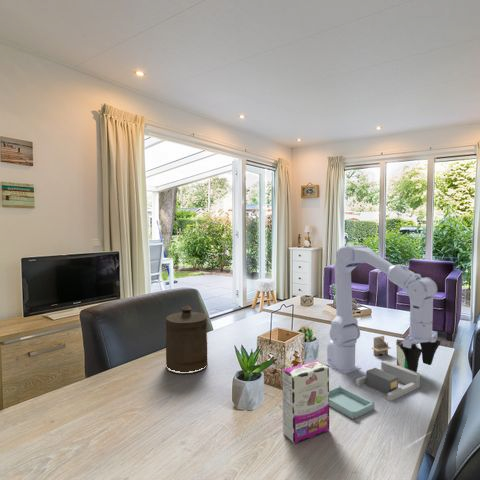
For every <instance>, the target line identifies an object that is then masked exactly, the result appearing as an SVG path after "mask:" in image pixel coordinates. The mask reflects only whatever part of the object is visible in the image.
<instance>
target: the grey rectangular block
mask: <svg viewBox="0 0 480 480" xmlns="http://www.w3.org/2000/svg"><path fill="white" fill-rule="evenodd" d="M365 372H366V373H365V375H366V385H367V386H369V387H372V388H374V389H376V390H378V391H380V392H382V393H385V394H387V393H389V392H391V391H394V390H396V389H398V388H399V381H398V377H397V376H395V375H392V374H390V373H387V372H385V371H382V370H381V369H379V368H377V367H373V368H371V369H368V370H365Z"/></svg>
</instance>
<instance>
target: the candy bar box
mask: <svg viewBox="0 0 480 480" xmlns="http://www.w3.org/2000/svg"><path fill="white" fill-rule="evenodd" d="M281 379H282V381H281V383H282V385H281V386H282V393H281V394H282V432H283V433H282V434H283V435H284V436H285V437H286V438H287V439H288V440H290V442H291V443H292V444H296V445H297V444H298V443H300V442H303V441H305V440H308V439H311V438H313V437H317V436H319V435H321V434H323V433H326V432H328V431H330V406H329V390H330V366H328V365H326V364H324V363H322V362H320V361H319V360H315V361H310V362H307V363H303V364H299V365H295V366H292V367H287V368H284V369H283V368H282V369H281Z"/></svg>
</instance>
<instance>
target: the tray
mask: <svg viewBox="0 0 480 480" xmlns="http://www.w3.org/2000/svg"><path fill="white" fill-rule="evenodd" d="M329 407H331V408H332V409H334V410H335V411H338V412H339V413H341V414H343V415H344V416H346V417H348V418H350V419H351V420H352V421H354V420H356V419H357V418H359V417H361V416H363V415H364V414H367V413H369V412H371V411H373V410H375V402H373V401H371V400H369V399H367V398H364V397H363V396H361V395H359V394H357V393H355V392H353V391H351V390H349V389H347V388H345V387H343V386H341V385H338V386H335V387H333V388H331V389H330V388H329Z"/></svg>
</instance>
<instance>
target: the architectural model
mask: <svg viewBox="0 0 480 480" xmlns="http://www.w3.org/2000/svg"><path fill="white" fill-rule="evenodd" d="M391 348H392V347H390V346H389V344H388V343H387V342H386V341H385V335H380V336H375V337H373V347H371V349H372V350H373V356H379V355H383V356H385V355H389V350H390V349H391Z"/></svg>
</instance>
